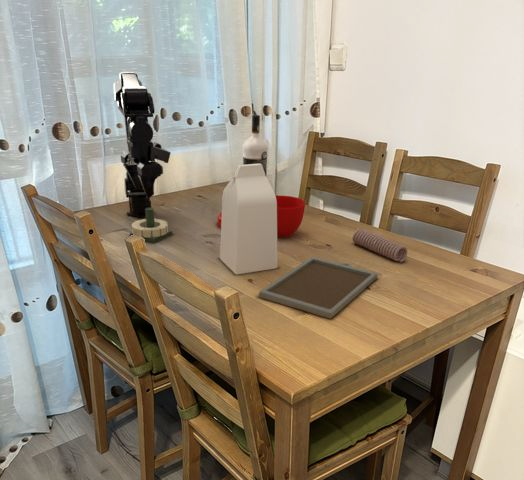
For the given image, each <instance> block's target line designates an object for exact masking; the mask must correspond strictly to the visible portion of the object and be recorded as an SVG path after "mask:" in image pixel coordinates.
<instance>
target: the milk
mask: <svg viewBox="0 0 524 480" xmlns="http://www.w3.org/2000/svg"><path fill="white" fill-rule="evenodd" d="M276 196H277V195H276V193H275V192H274V190H273V187H272V185H271V184H270V181H269V180H268V177H267V175H266V176H265V172H264V169H263V166H262V164H247V165H243V164H238V165H237V167H236V170H235V172H234V174H233V177H232V178H231V179H230V180H229V182H228V183H227V185H226V186H225V187H224V188H223V191H222V199H221V213H222V219H221V228H220V246H219V247H220V248H219V260H220V261H221V262H222V263H224V264H225V265H226V267H228V268H229V269H230V271H232V272H233V273H234V275H244V274H249V273H250V274H251V273H255V272H260V271H268V270H275V269H278V267H279V266H278V263H279V262H278V237H277V200H276Z"/></svg>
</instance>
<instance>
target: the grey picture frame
mask: <svg viewBox="0 0 524 480" xmlns="http://www.w3.org/2000/svg"><path fill="white" fill-rule="evenodd" d="M376 279H378V272H375V271H371V270H366V269H363V268H359V267H356V266H353V265H352V264H350V263H349V262H341V263H340V262H335V261H332V260H328V259H324V258H321V257H320V258H319V257H316V256H311V257H310V258H308V259H306V260H305V261H303V262H302V263H300V264H299V265H297V266H296V267H294V268H292V269H291V270H290V271H288V272H287V273H285V274H283V275H282V276H281V277H278V279H276V280H274V281H273V282H271V283H270V284H269V285H267V286H265V287H264V288H262V289H261V290H260V291H259V292H258V296H259V298H261V299H263V300H268V301H271V302H274V303H277V304H280V305H283V306H286V307H291V308H294V309H297V310H300V311H304V312H307V313H310V314H314V315H317V316H320V317H324V318H326V319H330V320H331V319H332V318H334V317H335V316H336V315H337V314H338V313H340V311H342V310H343V309H344V307H347V305H348V304H349V303H351V302H352V301H353V300H354V299H355V298H356V297H357V296H359V295H360V294H361V293H362V292H363V291H364V290H365V289H366V288H368V286H370V285H371V284H372V283H373V282H375V280H376Z"/></svg>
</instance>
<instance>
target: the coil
mask: <svg viewBox="0 0 524 480" xmlns="http://www.w3.org/2000/svg"><path fill="white" fill-rule="evenodd" d="M352 242H353V243H354V244H356V245H359V246H360V247H363V248H365V249H367V250H369V251H372V252H374V253H376V254H379V255H381V256H384V257H386V258H388V259H390V260H392V261H395V262H399V263H403V262H404V261H405V260H406V259H407V257H408V248H407V247H406V246H405V245H403V244H400V243H398V242H395V241H394V240H391V239H388V238H385V237H384V236H381V235H379V234H376V233H373V232H371V231H368V230H366V229H364V228H357V230H355V231H354V233H353V234H352Z"/></svg>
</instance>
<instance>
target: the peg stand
mask: <svg viewBox="0 0 524 480" xmlns="http://www.w3.org/2000/svg"><path fill="white" fill-rule="evenodd" d="M145 213H146V216H145V219H146V225H147V228H153V227H155V222H154V219H155V210H154V207H151V208H146V209H145ZM130 235H133V233H132V231H131V232H129V236H130ZM172 235H173V230H171V229H168V232H167V233H166V234H165V235H163V236H159V237H151V238H149V237H143V238H144V239H145V241H144V242H148V243H151V244H156V243H157V242H160V241H162V240H164V239H166V238H168V237H170V236H172Z"/></svg>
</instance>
